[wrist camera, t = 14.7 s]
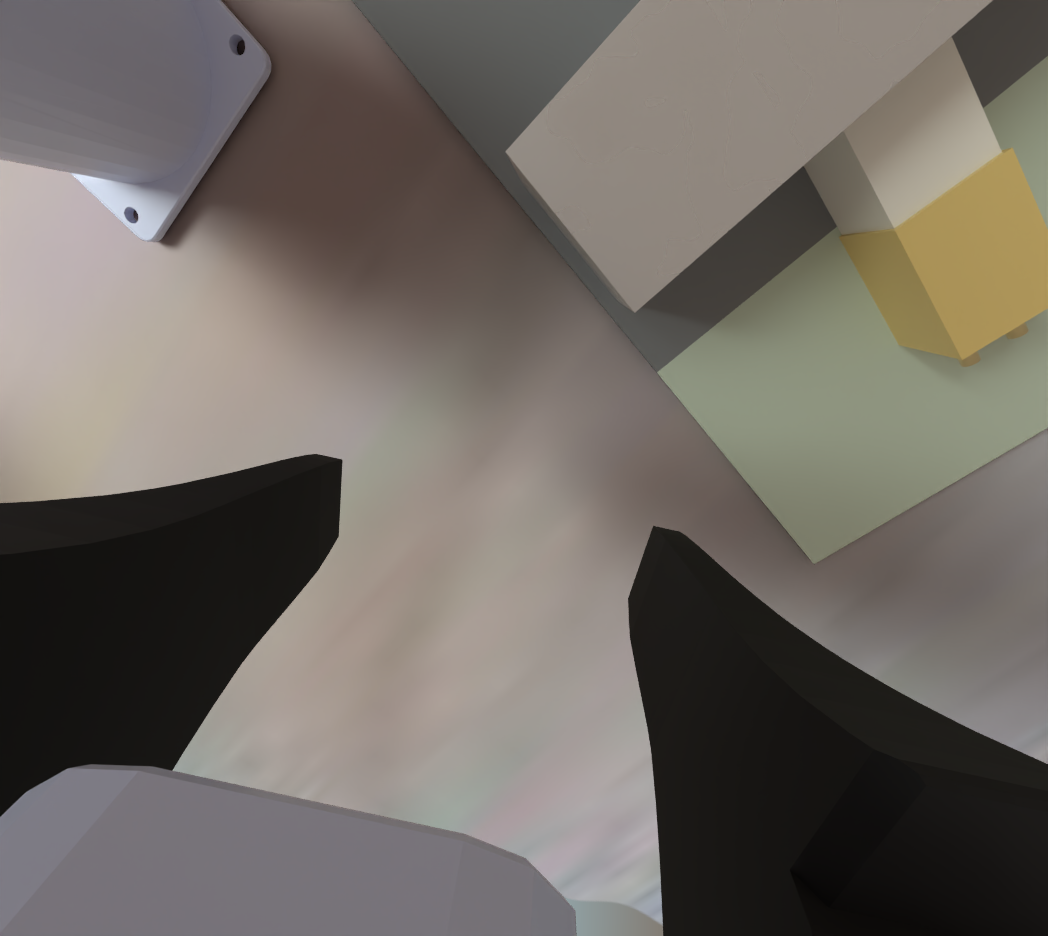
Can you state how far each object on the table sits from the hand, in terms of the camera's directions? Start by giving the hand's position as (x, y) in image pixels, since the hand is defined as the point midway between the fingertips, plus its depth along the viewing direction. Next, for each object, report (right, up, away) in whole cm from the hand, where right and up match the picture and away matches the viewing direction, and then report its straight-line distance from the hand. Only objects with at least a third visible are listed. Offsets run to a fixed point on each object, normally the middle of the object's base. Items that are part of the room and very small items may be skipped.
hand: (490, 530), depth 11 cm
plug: (+11, +12, +4) cm, 16 cm away
